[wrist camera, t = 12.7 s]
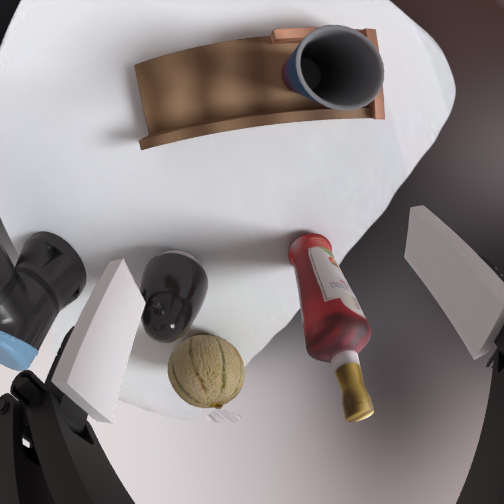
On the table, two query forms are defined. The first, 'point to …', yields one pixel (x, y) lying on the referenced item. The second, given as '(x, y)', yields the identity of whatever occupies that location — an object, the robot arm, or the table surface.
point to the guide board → (231, 89)
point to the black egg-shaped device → (172, 294)
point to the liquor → (332, 319)
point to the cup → (335, 68)
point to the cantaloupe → (206, 371)
